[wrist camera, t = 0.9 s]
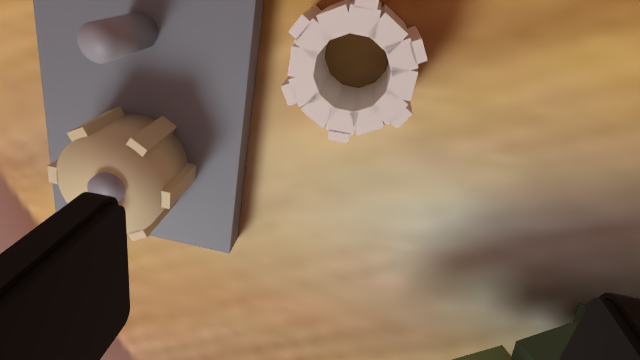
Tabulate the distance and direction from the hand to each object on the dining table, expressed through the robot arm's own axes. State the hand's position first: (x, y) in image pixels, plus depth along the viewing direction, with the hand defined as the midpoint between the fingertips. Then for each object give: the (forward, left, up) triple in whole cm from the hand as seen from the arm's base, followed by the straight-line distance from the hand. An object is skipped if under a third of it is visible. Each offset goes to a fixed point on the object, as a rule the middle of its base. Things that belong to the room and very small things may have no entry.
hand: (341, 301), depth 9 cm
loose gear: (-1, -1, -21) cm, 21 cm away
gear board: (+3, -13, -21) cm, 25 cm away
